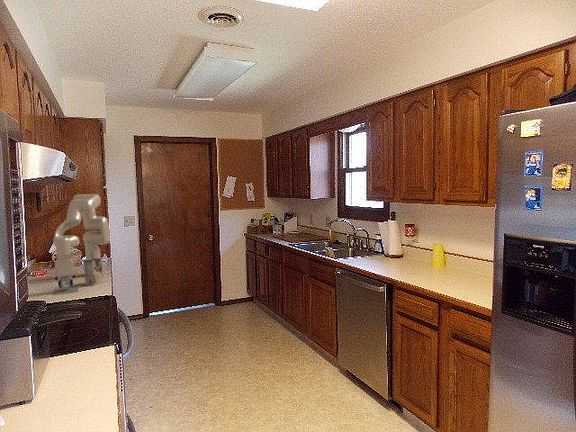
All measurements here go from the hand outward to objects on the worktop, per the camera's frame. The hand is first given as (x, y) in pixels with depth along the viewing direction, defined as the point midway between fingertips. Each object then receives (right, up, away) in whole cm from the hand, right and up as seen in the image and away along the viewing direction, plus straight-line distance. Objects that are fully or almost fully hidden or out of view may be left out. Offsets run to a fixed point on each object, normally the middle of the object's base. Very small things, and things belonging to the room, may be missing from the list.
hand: (65, 286), depth 239 cm
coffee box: (+9, -1, +17) cm, 19 cm away
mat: (0, -3, 0) cm, 3 cm away
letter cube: (0, -1, 0) cm, 1 cm away
